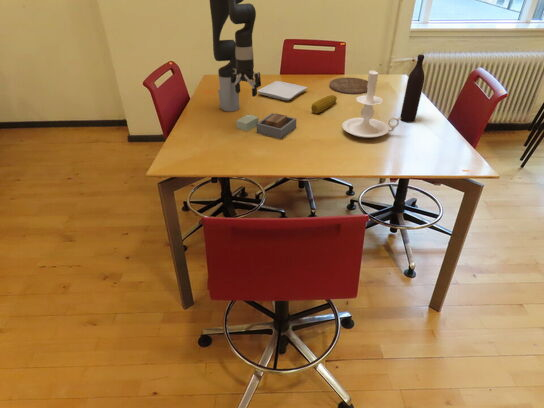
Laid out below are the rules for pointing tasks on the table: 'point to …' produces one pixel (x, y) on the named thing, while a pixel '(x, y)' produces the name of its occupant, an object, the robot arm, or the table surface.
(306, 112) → the table surface
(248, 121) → the sage carton
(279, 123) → the walnut block
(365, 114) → the candlestick
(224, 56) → the robot arm
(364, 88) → the trivet
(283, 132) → the tray
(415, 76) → the wine bottle
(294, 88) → the salad plate
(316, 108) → the food
